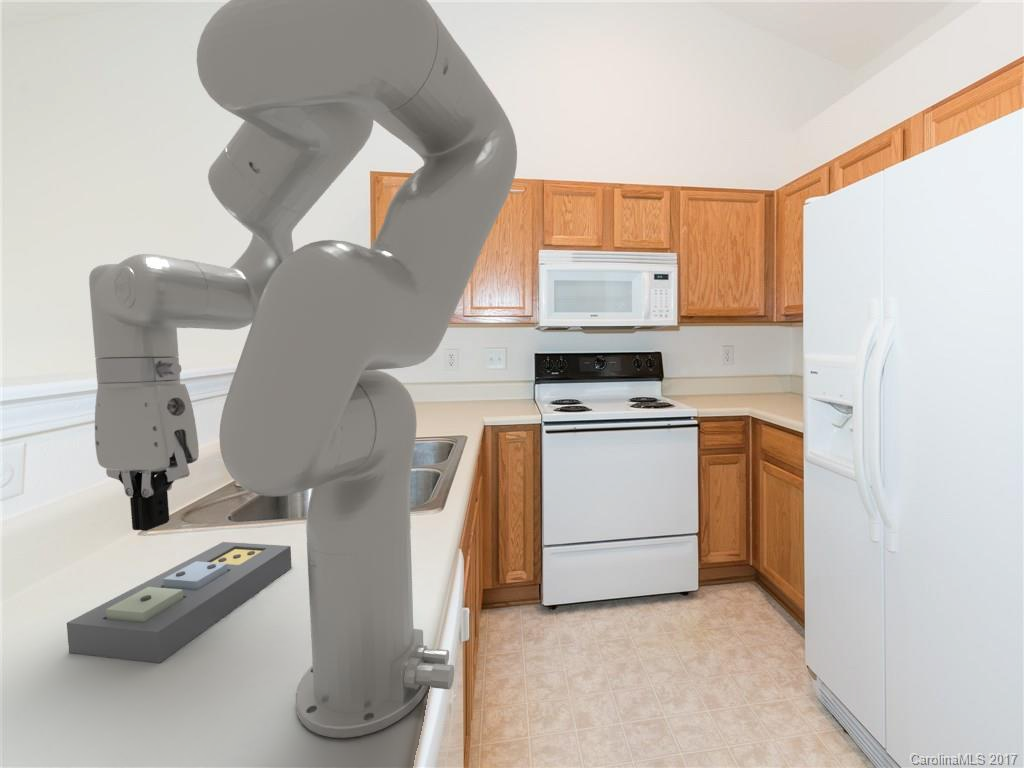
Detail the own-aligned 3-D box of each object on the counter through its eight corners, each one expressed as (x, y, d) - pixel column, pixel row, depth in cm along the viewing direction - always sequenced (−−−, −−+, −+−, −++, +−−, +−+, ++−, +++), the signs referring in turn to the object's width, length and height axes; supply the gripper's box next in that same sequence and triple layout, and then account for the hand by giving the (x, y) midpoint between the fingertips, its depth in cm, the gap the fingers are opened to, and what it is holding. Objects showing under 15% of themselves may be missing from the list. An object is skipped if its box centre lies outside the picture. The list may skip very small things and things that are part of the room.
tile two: (228, 577, 62) (227, 562, 62) (197, 596, 57) (196, 580, 57) (197, 575, 63) (196, 559, 63) (164, 593, 58) (162, 577, 58)
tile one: (183, 605, 55) (182, 588, 55) (144, 629, 51) (143, 611, 50) (149, 602, 56) (148, 585, 56) (107, 626, 51) (105, 607, 51)
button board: (291, 567, 70) (290, 545, 70) (160, 663, 49) (157, 632, 48) (224, 563, 72) (222, 541, 72) (69, 652, 51) (66, 622, 50)
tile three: (264, 563, 69) (263, 549, 69) (239, 579, 64) (238, 564, 64) (235, 561, 70) (235, 547, 70) (209, 577, 65) (208, 562, 65)
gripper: (220, 371, 55) (230, 518, 56) (122, 373, 58) (132, 512, 59) (161, 374, 48) (174, 543, 49) (52, 376, 51) (66, 535, 52)
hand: (151, 526), depth 54 cm, fingers closed
